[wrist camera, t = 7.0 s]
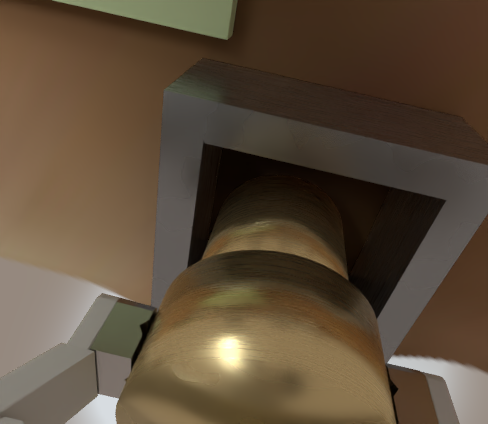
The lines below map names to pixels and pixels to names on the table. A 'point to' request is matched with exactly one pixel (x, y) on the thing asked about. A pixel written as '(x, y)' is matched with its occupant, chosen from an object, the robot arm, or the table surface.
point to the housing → (329, 160)
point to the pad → (173, 13)
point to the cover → (264, 323)
